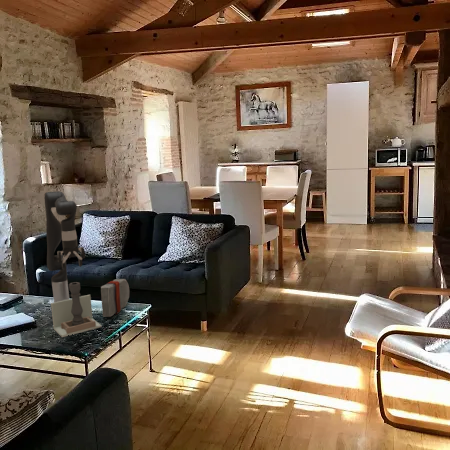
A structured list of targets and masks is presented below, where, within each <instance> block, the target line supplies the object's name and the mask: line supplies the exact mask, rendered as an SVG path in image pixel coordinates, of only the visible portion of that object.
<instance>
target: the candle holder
mask: <svg viewBox="0 0 450 450" xmlns="http://www.w3.org/2000/svg"><path fill="white" fill-rule="evenodd" d="M68 290H69V291H70V292H69V293H71V294H70V297H71V299H72V302H73V303H72V309H71V313H72V314H73V316H74V318H73V319H72V320H73V322H72V326H76V325H80V324H84V320H83V317H82V316H81V314H82V312H83V309H82V306H81V303H80V298H79V297H81V293H80V291H81V283H80V282H77V281H74V282H70V283H69V284H68Z"/></svg>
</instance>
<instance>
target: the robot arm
mask: <svg viewBox="0 0 450 450" xmlns="http://www.w3.org/2000/svg"><path fill="white" fill-rule="evenodd" d="M44 207H45V208H44V210H45V218H46V228H45V230H46V242H47V243H46V245H47V251H46V253H47V254H46V266H47V270H48V271H50V272H56V271H57V273H56V274H54V275H52V276H51V278H50V280H51V287H52V294H53V295H52V296H53V297H52V298H53V303H54V302H59V301H63V300H68V299H70V294H69V293H70V292H69V291H70V290H69V284H68V283H69V282H68V268H67V260H68V258H69V259H71V258H75V257H76V258H77V259H78V261H77V262H78V267H80V268H81V267H82V266H83V259H85V258H86V253H85V247H83V246H79V247H78V235H77V231H76V224H75V223H76V222H75V221H76V216H77V215H76V214H77V208H78V206H77V203H76V202H75V201H73V200H67V198H66V195H65V193H64V192H62V191H61V190H60V191H57V190H56V191H47V192H45V193H44ZM53 208H54V209H55V212H56V214H57V215H59V216H67V215H69V216H68V217H67V218H64V219H62V220H61V221H59V219H58V218H56V216H55V214H54V212H53V211H52V209H53ZM61 242H62V243H61ZM60 243H61V244H62V250H57V248H58V246H59V245H60ZM56 250H57V252H56ZM55 252H56V253H57V255H55ZM79 252H80V255H81V256H80V255H79Z"/></svg>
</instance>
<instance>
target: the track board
mask: <svg viewBox="0 0 450 450" xmlns="http://www.w3.org/2000/svg"><path fill="white" fill-rule="evenodd" d="M79 298H80V303H81V306H82V309H83V312H82V314H81V316H82V317H83V320H84V324H80V325H76V326H72V322H73V320H72V319H73V318H74V316H73V314H72V313H71V309H72V303H73V302H72V298H69V299H68V300H63V301H59V302H54V301H53V302H51V303H50V308H51V315H52V325H53V330H54V331H56V333H57V334H58V335H59V336H60V337H61V338H65V337H69V336H72V334H73V335H76V334H80V333H85V332H87V331H92V330H95V329H99V328H102V324H100V323H99V322H98V321H96V320H95V319H94V318H93V309H92V308H93V307H92V297H91V294H87V295H80V296H79ZM68 335H69V336H68Z"/></svg>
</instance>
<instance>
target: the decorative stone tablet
mask: <svg viewBox="0 0 450 450" xmlns="http://www.w3.org/2000/svg"><path fill="white" fill-rule="evenodd" d="M100 294H101V312H102V317H105V318H111V317H112V316H114V314H115V316H116V315H118V314H119V313H120V312H121V311H122V310H123V309H124V308H125V307H126V306H127V304H128V301H129V298H130V287H129V283H128V281H127V280H126V278H116V279H113V280H111V281H109V282H107V283H106V284H104V285H101V286H100Z"/></svg>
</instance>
